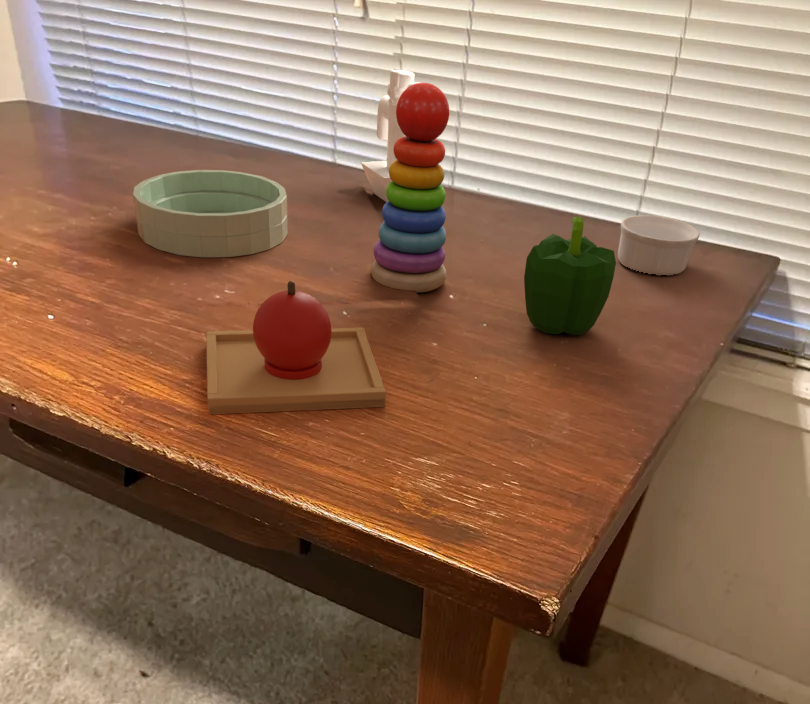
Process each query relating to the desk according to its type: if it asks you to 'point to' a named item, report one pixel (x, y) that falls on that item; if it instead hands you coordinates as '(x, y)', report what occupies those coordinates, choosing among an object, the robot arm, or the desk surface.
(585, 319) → the bell pepper
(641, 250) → the ramekin
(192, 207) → the bowl
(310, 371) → the red round based ball
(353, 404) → the tray
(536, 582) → the desk surface
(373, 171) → the figurine
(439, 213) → the stacking toy
